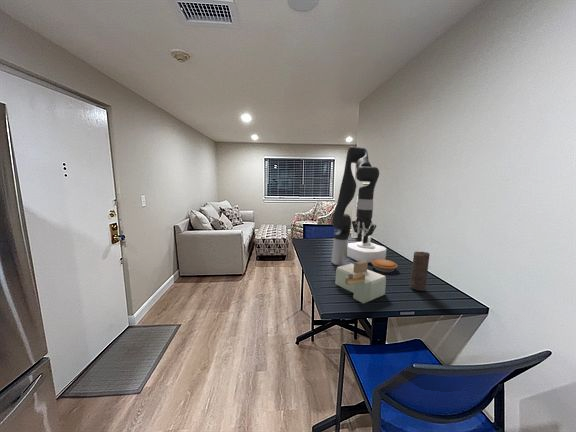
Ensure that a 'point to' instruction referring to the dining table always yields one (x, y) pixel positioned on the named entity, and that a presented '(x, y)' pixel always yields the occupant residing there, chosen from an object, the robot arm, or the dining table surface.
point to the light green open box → (361, 288)
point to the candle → (419, 270)
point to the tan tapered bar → (354, 278)
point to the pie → (384, 265)
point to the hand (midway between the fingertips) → (362, 242)
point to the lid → (361, 271)
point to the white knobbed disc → (366, 251)
